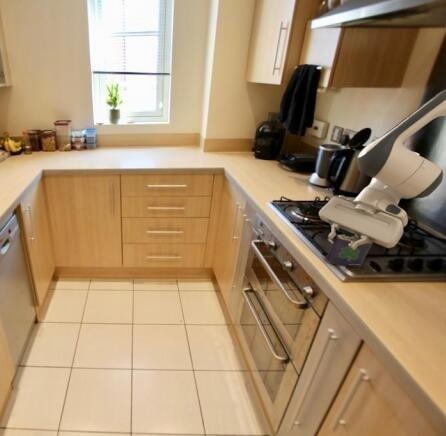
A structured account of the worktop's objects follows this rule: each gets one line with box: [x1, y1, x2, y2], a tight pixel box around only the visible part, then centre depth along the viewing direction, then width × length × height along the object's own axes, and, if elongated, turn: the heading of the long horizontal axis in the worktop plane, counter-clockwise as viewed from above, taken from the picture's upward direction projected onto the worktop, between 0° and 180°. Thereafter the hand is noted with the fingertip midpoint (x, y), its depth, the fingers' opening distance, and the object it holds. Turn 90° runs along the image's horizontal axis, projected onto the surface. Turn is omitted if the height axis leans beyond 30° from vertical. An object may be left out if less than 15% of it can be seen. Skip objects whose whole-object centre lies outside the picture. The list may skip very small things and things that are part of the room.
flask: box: [325, 233, 373, 268], centre depth 92 cm, size 9×3×11 cm, turn 72°
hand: (340, 243), depth 91 cm, fingers closed on flask, 4 cm apart
